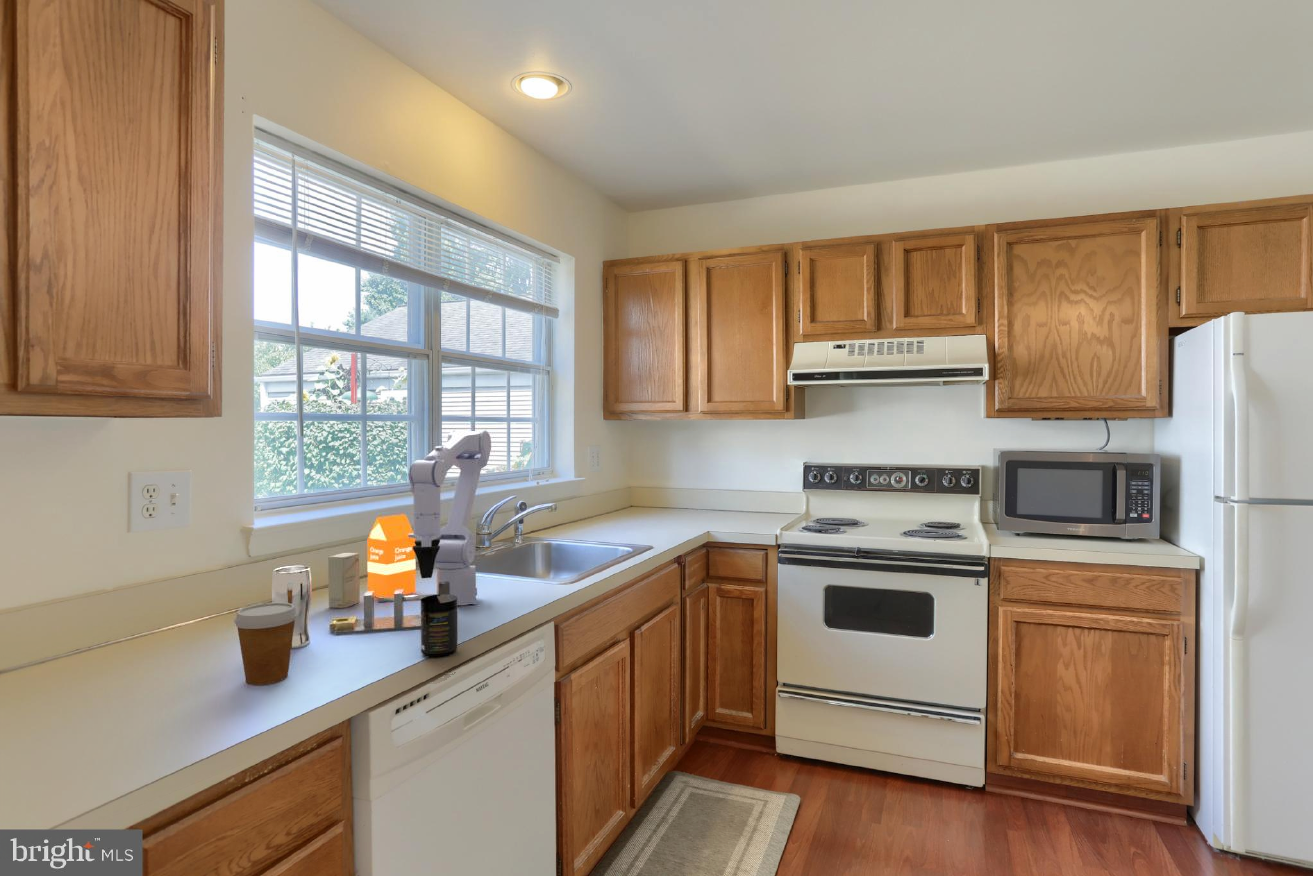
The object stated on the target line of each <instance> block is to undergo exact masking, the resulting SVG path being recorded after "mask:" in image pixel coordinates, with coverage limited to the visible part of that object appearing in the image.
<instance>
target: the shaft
mask: <svg viewBox="0 0 1313 876" xmlns="http://www.w3.org/2000/svg"><path fill="white" fill-rule="evenodd" d="M441 594H448V595H450V582H439V583H438V594H437V593H433V594H431V593H430V594H417V595H403V596H402V602H403V603H405V602H406V603H407V602H421V599H422V598H424V597H427V596H432V595H441ZM377 601H378V604H388V603H389V604H390V603H393V604H394V597H382V598H380V597H378V600H377Z"/></svg>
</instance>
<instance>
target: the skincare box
mask: <svg viewBox="0 0 1313 876" xmlns="http://www.w3.org/2000/svg"><path fill="white" fill-rule="evenodd" d="M327 558H328V561H327V562H328V563H327V565H328V567H327V569H328V570H327V572H328V574H327V576H328V577H327V579H328V580H327V581H328V608H334V609H335V608H336V609H344V608H348V607H350V606H352V605H353V604H354V605H356V604H359V603H360V602H361V599H360V596H361V595H360V585H361V584H360V553H359V552H342V553H337V554H333V555H330V556H328V557H327Z"/></svg>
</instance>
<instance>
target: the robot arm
mask: <svg viewBox="0 0 1313 876" xmlns="http://www.w3.org/2000/svg"><path fill="white" fill-rule="evenodd" d="M491 439H492V438H491V435H490V433H489V432H488V431H487V430H482V431H481V430H475V431H474V430H472V431H471V430H455V429H454V430H451V431H450V432H449V433H448V435H447V443H446V444H444V446H442V445H436V446H435V447H434V449H433V450H432V451H431V452H430V453H429V454H427V455H426V456H425V458H423V459H422V460H421V459H418V460H415V461H414V462H412V463H411V464H410V466H409V469H408V476H407V477H408V481H409V483H410V491H411V494H412V495H413V533H410V534H408V538H415V542H414V543H415V546H413V550H414V552H415V557H416V558H417V563H418V566H419V572H420V577H421V579H431V578H432V577H433V574H434V568H436V594H438V583H439V582H450V595H455V596H457V597H458V605H459V606H468V605H467V604H474V605H476V604H477V596H478V588H477V587H476V586H477V585H476V584H477V582H476V581H477V572H476V571H477V570H476V569H477V568H476V565H474V564H473V565H471V564H472V563H473V561H474V560H475V556H476V543H477V542H476V541H477V540H476V537H475V535H474V533H472V531H471V530H469V529H468V526H469V523H470V518H471V513H472V509H473V505H474V501H475V497H476V491H477V490H478V489H477V488H478V483H479V480H480V476H481V472H482V471H481V470H482V469H484V468H485V467H487V465H488V461H489V459H490V456H491V455H490V454H491V451H492V440H491ZM453 466H455V467H456V468H458V469H460V472H459V475H458V480H457V484H456V488H455V491H454V496H453V500H452V504H451V508H450V510H449V515H448V518H447V519H448V520H447V523H446V524H445V525H444V526H443V527H441V486H442V485H444V484H445V483H444V482H445V479H446V476H447V474H448V471H449V470H450V469H451V468H452V467H453Z"/></svg>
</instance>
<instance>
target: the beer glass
mask: <svg viewBox="0 0 1313 876" xmlns="http://www.w3.org/2000/svg"><path fill="white" fill-rule="evenodd" d="M271 579H272V583H271V600H272V603H290V604H293V605H294V606H295V609H296V611H297V612H298V615H297V616H296V619H295V622H294V631H293V639H292V647H291V650H294V649H299V648H303V647H306V646H307V645H309V644H310V642H311V639H310V634H309V629H308V627H309V626H308V624H309V623H308V621H309V615H310V609H311V608H310V607H311V602H312V593H313V590H312V589H313V587H312V586H313V584H312V574H311V567H310V566H309V565H293V566H292V565H291V566H283V567H279V568H275V569H273V570H272V578H271Z"/></svg>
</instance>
